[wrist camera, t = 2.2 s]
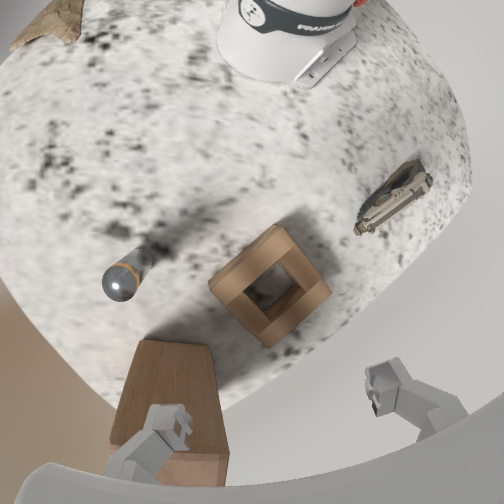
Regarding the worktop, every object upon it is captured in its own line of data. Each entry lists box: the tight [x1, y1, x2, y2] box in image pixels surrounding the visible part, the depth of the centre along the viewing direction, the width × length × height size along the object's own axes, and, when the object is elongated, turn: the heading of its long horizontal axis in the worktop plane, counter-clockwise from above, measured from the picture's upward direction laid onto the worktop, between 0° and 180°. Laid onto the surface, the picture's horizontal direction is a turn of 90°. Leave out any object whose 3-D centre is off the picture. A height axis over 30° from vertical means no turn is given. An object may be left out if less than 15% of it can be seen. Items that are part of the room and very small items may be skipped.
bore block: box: [208, 225, 333, 349], centre depth 35 cm, size 11×11×4 cm
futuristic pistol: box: [353, 159, 433, 236], centre depth 36 cm, size 2×15×10 cm, turn 132°
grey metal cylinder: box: [102, 248, 153, 302], centre depth 28 cm, size 3×3×11 cm
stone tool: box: [10, 0, 83, 51], centre depth 22 cm, size 14×3×15 cm
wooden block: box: [108, 340, 230, 487], centre depth 27 cm, size 10×10×20 cm
